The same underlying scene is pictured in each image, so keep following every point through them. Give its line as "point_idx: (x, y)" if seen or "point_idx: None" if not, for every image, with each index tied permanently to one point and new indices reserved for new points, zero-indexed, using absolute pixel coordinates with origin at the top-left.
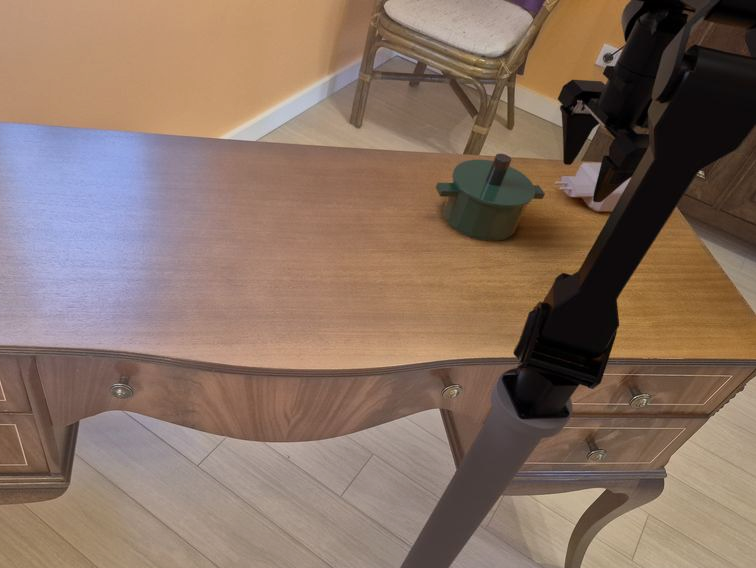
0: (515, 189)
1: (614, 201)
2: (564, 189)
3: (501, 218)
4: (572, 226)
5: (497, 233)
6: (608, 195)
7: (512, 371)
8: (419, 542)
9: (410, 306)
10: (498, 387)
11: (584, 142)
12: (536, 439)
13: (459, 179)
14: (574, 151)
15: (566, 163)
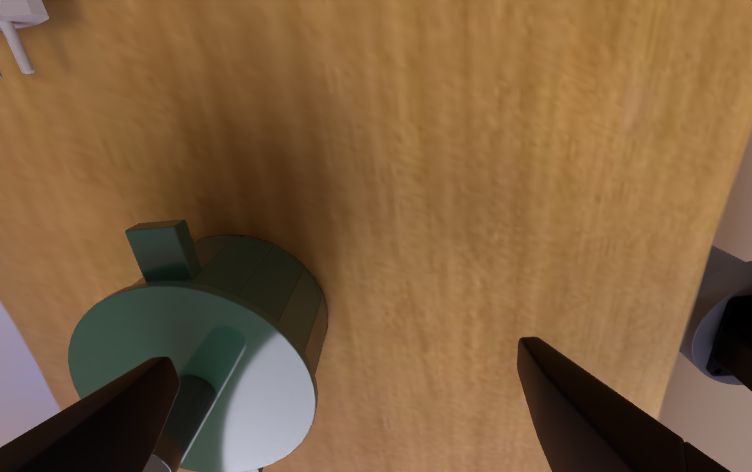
0: (218, 348)
1: None
2: (26, 55)
3: (314, 349)
4: (199, 54)
5: (322, 314)
6: (580, 369)
7: (698, 352)
8: None
9: (530, 467)
10: (725, 380)
11: (32, 470)
12: None
13: (218, 465)
14: (118, 437)
15: (176, 384)
